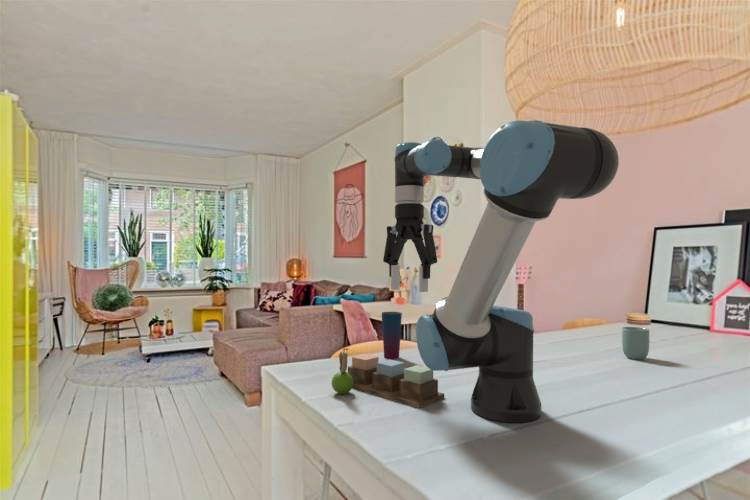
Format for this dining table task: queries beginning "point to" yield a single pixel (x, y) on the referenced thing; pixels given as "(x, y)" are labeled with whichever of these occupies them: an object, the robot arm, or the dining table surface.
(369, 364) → the terracotta key
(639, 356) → the cup
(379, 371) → the slate key
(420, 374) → the sage key
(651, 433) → the dining table surface
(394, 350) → the cup
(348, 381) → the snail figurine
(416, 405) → the wooden socket tray
